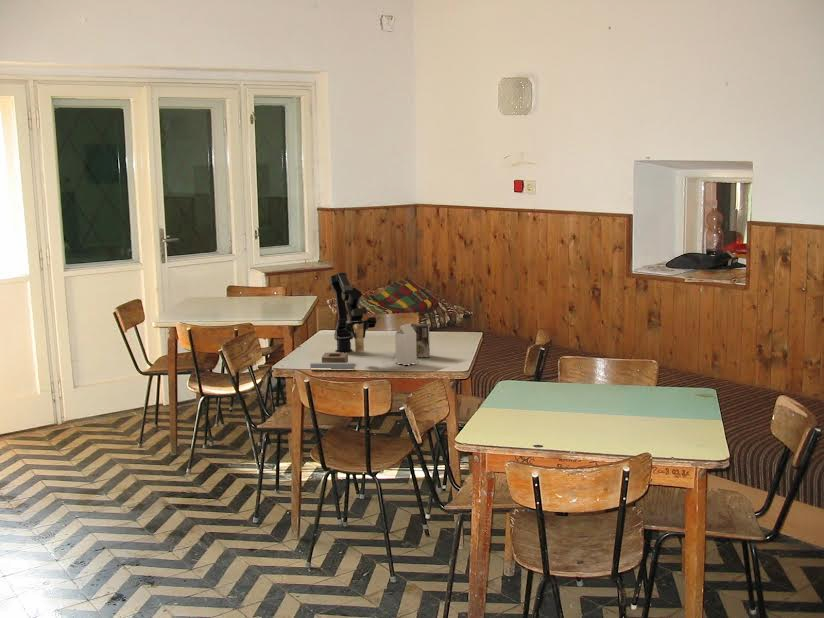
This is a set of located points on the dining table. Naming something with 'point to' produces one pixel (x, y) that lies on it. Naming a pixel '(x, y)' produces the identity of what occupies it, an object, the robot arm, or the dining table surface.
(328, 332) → the dining table surface
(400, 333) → the milk carton
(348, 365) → the stop rail
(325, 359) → the socket block
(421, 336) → the coffee box
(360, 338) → the dowel
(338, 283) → the robot arm
